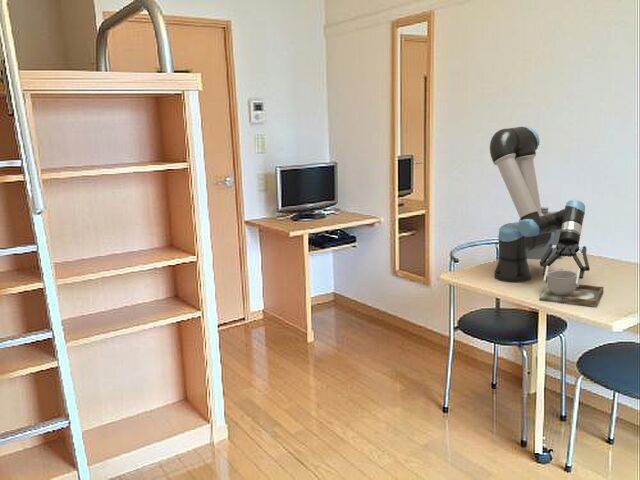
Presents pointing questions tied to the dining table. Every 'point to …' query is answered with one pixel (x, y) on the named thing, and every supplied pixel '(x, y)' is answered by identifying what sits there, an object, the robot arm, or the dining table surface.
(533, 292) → the dining table surface
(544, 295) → the board
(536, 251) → the flask
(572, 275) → the teacup
